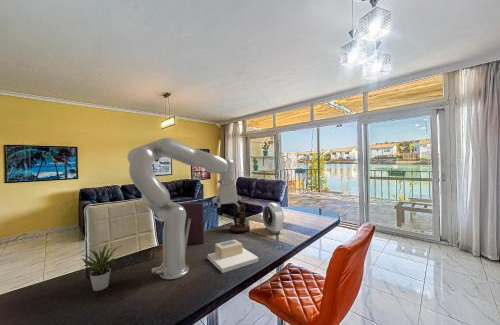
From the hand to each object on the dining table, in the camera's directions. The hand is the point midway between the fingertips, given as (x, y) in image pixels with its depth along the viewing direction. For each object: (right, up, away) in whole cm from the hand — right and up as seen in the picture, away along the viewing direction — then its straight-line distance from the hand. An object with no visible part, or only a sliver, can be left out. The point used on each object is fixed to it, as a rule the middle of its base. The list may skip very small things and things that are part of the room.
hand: (227, 213), depth 119 cm
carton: (+1, -20, -4) cm, 21 cm away
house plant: (-48, -23, -29) cm, 61 cm away
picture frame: (-25, -23, +13) cm, 36 cm away
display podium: (+3, -22, -7) cm, 24 cm away
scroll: (+5, -22, +40) cm, 46 cm away
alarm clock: (+29, -22, +38) cm, 52 cm away
